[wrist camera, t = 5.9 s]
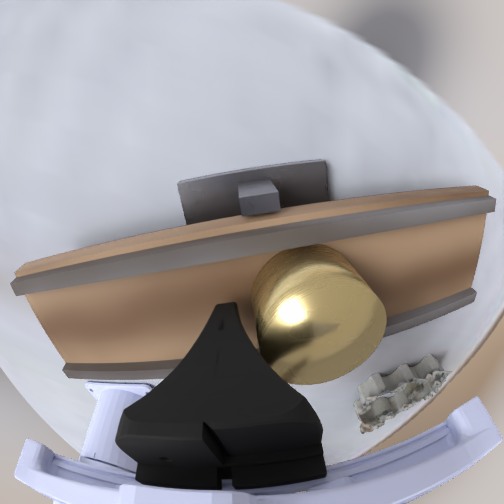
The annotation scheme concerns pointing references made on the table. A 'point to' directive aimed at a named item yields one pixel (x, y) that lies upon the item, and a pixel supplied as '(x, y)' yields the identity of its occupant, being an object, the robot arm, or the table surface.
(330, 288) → the brass weight
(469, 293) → the beam
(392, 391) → the egg carton
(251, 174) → the pivot bracket
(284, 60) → the table surface
